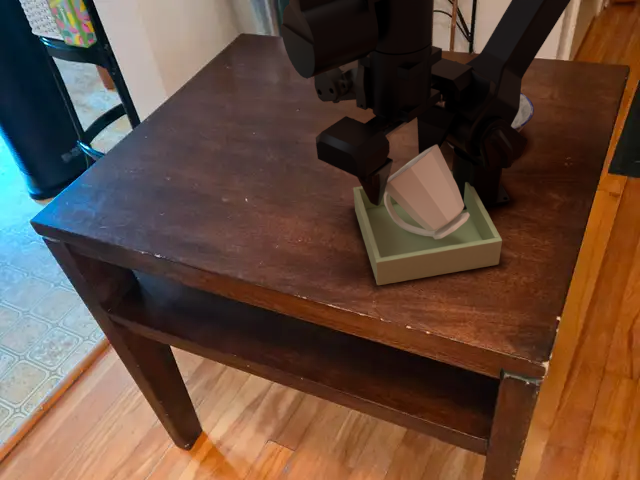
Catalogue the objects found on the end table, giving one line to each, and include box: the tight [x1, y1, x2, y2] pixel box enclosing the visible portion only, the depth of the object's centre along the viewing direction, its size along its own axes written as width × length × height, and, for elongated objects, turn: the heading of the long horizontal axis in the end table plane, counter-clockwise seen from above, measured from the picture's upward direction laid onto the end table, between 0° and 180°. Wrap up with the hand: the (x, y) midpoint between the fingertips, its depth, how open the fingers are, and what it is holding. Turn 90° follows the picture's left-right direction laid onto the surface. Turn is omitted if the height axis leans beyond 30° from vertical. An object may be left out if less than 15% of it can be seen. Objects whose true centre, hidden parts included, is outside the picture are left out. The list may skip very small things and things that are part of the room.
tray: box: [353, 170, 503, 286], centre depth 67 cm, size 13×13×3 cm
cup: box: [384, 145, 470, 239], centre depth 64 cm, size 7×10×8 cm
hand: (400, 184), depth 65 cm, fingers open, 8 cm apart
